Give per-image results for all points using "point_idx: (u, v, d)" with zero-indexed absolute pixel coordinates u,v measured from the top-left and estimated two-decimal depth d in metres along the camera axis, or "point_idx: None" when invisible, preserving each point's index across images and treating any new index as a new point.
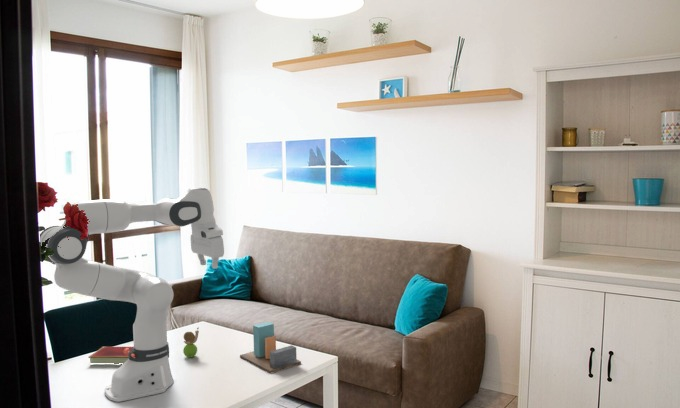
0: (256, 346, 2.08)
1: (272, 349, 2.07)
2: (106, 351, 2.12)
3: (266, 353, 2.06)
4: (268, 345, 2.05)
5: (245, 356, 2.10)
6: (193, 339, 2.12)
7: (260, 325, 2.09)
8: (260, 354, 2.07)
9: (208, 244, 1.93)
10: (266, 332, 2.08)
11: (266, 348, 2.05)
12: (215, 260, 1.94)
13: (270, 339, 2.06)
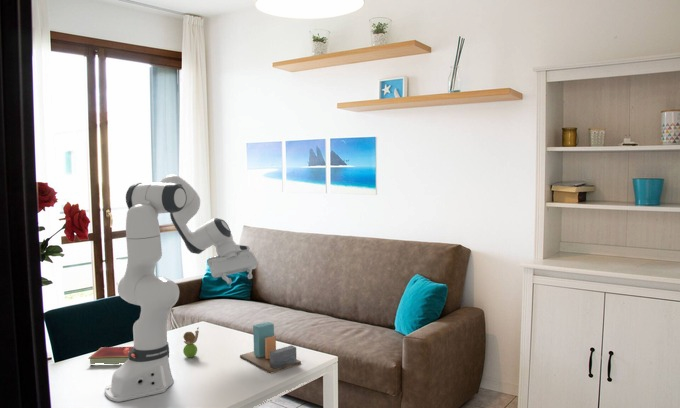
0: (256, 346, 2.08)
1: (272, 349, 2.07)
2: (105, 351, 2.11)
3: (266, 353, 2.06)
4: (268, 345, 2.05)
5: (245, 356, 2.10)
6: (193, 339, 2.12)
7: (260, 325, 2.09)
8: (260, 354, 2.07)
9: (244, 257, 2.27)
10: (266, 332, 2.08)
11: (266, 348, 2.05)
12: None
13: (270, 339, 2.06)
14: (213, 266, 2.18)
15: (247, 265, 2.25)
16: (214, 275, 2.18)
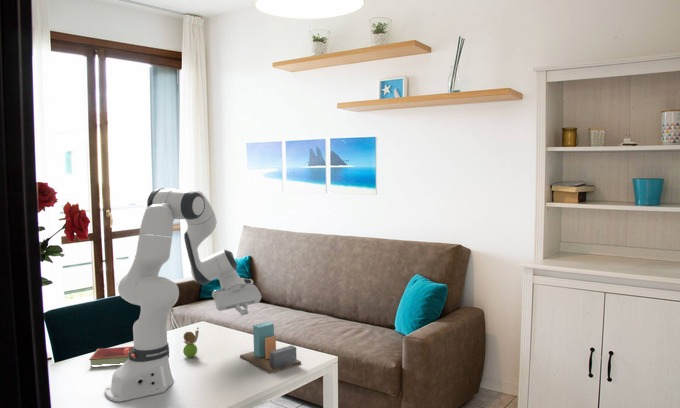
0: (256, 346, 2.08)
1: (272, 349, 2.07)
2: (104, 352, 2.10)
3: (266, 353, 2.06)
4: (268, 345, 2.05)
5: (245, 356, 2.10)
6: (193, 339, 2.12)
7: (260, 325, 2.09)
8: (260, 354, 2.07)
9: (248, 291, 2.28)
10: (266, 332, 2.08)
11: (266, 348, 2.05)
12: None
13: (270, 339, 2.06)
14: (219, 299, 2.18)
15: (251, 299, 2.25)
16: (219, 308, 2.17)
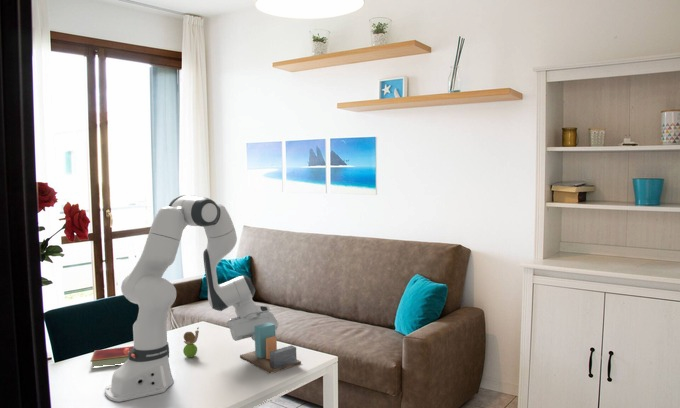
0: (257, 347, 2.08)
1: (273, 349, 2.06)
2: (103, 353, 2.09)
3: (267, 353, 2.05)
4: (269, 345, 2.05)
5: (245, 356, 2.10)
6: (193, 339, 2.12)
7: (261, 326, 2.08)
8: (262, 355, 2.07)
9: (264, 319, 2.19)
10: (267, 333, 2.08)
11: (267, 348, 2.05)
12: None
13: (271, 339, 2.05)
14: (235, 328, 2.09)
15: None
16: (235, 338, 2.08)
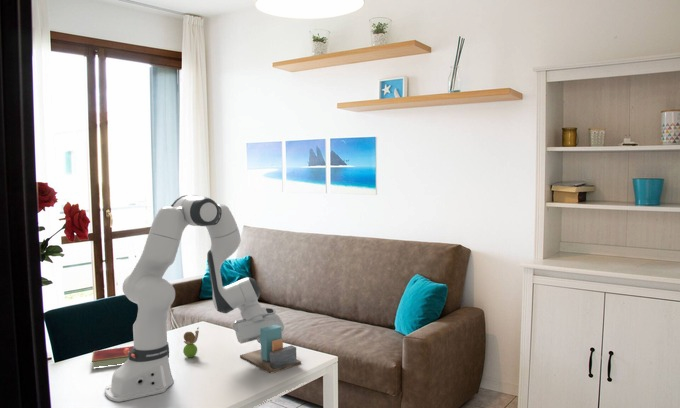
0: (263, 350, 2.04)
1: None
2: (103, 354, 2.08)
3: None
4: (275, 348, 2.02)
5: (245, 356, 2.10)
6: (193, 339, 2.12)
7: (267, 328, 2.05)
8: (268, 358, 2.03)
9: (270, 321, 2.15)
10: (273, 336, 2.04)
11: None
12: None
13: (277, 342, 2.02)
14: (240, 331, 2.05)
15: None
16: (241, 341, 2.04)
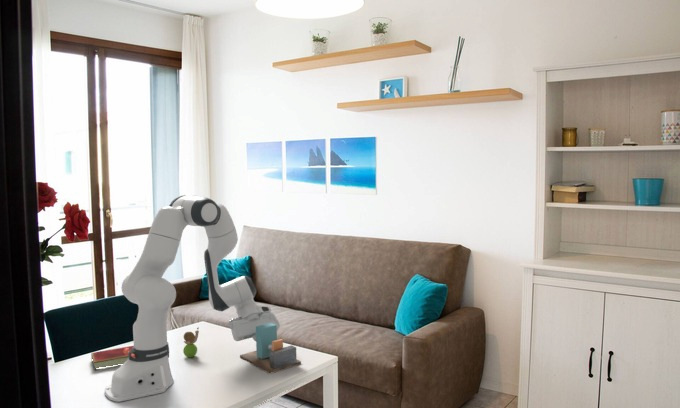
0: (258, 347, 2.07)
1: None
2: (103, 355, 2.08)
3: None
4: (275, 348, 2.01)
5: (245, 356, 2.10)
6: (193, 339, 2.12)
7: (263, 326, 2.07)
8: (263, 355, 2.06)
9: (266, 319, 2.18)
10: (268, 334, 2.07)
11: None
12: None
13: (277, 342, 2.02)
14: (236, 329, 2.08)
15: None
16: (237, 338, 2.07)
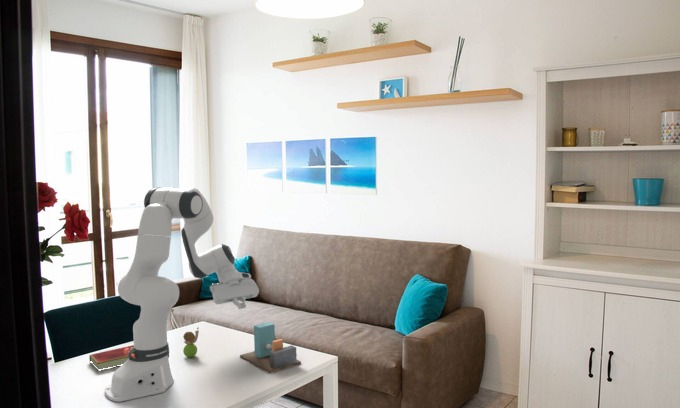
0: (256, 346, 2.08)
1: None
2: (104, 356, 2.06)
3: None
4: (275, 348, 2.01)
5: (245, 356, 2.10)
6: (193, 339, 2.12)
7: (261, 325, 2.08)
8: (261, 354, 2.07)
9: (246, 285, 2.29)
10: (266, 333, 2.08)
11: None
12: None
13: (277, 342, 2.02)
14: (216, 292, 2.19)
15: (249, 293, 2.27)
16: (217, 301, 2.18)
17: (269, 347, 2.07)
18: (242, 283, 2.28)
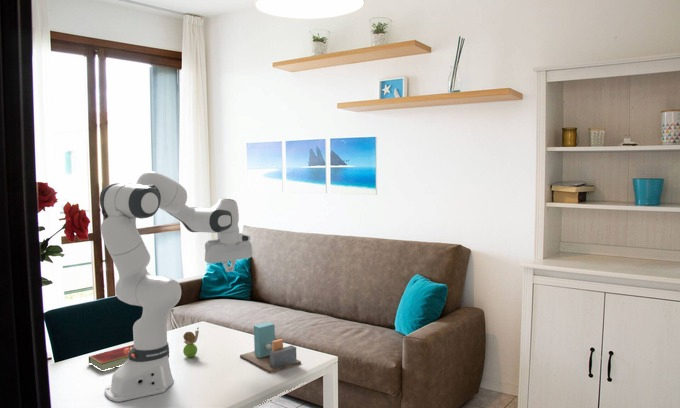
0: (256, 346, 2.08)
1: None
2: (105, 356, 2.06)
3: None
4: (275, 348, 2.01)
5: (245, 356, 2.10)
6: (193, 339, 2.12)
7: (261, 325, 2.08)
8: (261, 354, 2.07)
9: (241, 247, 2.20)
10: (266, 333, 2.08)
11: None
12: None
13: (277, 342, 2.02)
14: (210, 254, 2.10)
15: (241, 257, 2.19)
16: (207, 262, 2.11)
17: (269, 347, 2.07)
18: (239, 245, 2.18)
